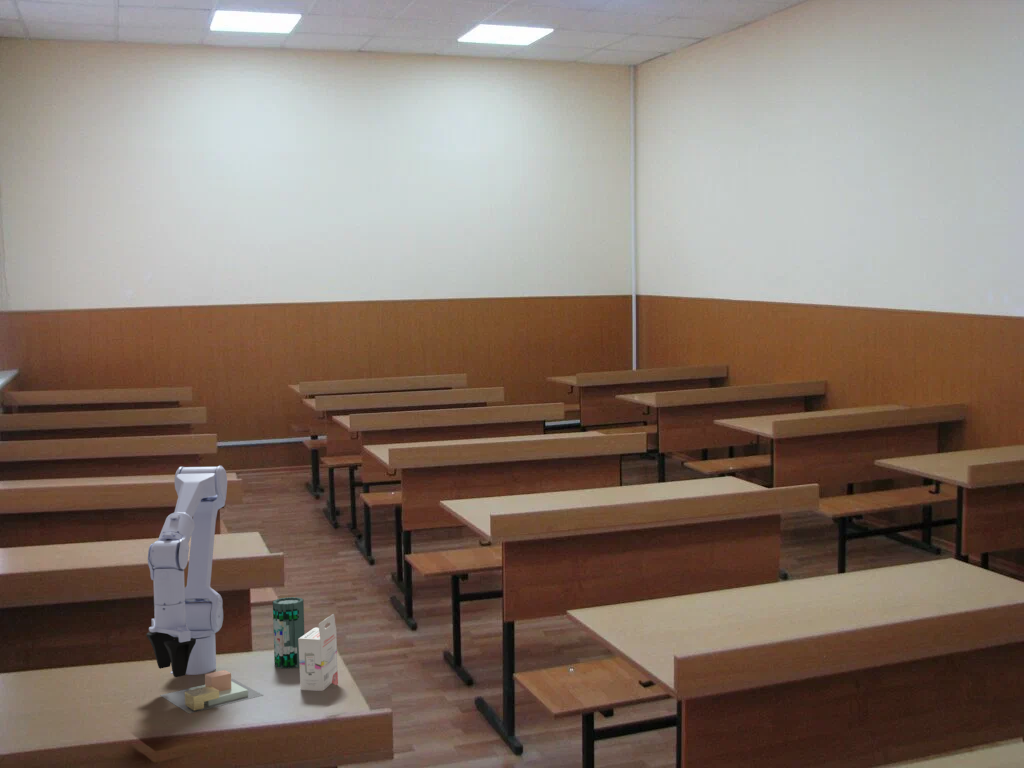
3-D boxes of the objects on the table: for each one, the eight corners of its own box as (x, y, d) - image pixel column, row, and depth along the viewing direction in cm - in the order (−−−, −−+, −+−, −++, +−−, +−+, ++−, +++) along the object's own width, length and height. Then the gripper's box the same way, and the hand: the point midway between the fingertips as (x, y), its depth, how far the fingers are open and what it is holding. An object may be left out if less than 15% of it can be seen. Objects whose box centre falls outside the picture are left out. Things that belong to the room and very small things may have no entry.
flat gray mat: (160, 702, 209) (159, 695, 209) (232, 685, 218) (232, 678, 218) (188, 721, 198) (188, 713, 198) (263, 702, 207) (263, 695, 207)
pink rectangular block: (189, 694, 209) (188, 672, 209) (228, 685, 214) (227, 664, 214) (208, 705, 202) (207, 683, 202) (248, 696, 207) (247, 674, 207)
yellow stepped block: (185, 705, 202) (184, 691, 201) (210, 699, 205) (210, 685, 205) (193, 710, 198) (193, 696, 198) (219, 704, 202) (219, 690, 202)
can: (269, 672, 227) (267, 601, 226) (291, 664, 232) (289, 596, 231) (288, 677, 223) (286, 605, 223) (310, 669, 228) (308, 599, 228)
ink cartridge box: (315, 683, 219) (313, 612, 218) (338, 684, 218) (336, 612, 217) (299, 697, 210) (296, 623, 210) (322, 698, 209) (320, 623, 209)
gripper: (135, 599, 211) (137, 667, 212) (163, 612, 200) (166, 684, 200) (170, 593, 216) (172, 660, 216) (200, 605, 204) (202, 676, 205)
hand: (171, 671), depth 209 cm, fingers open, 7 cm apart
